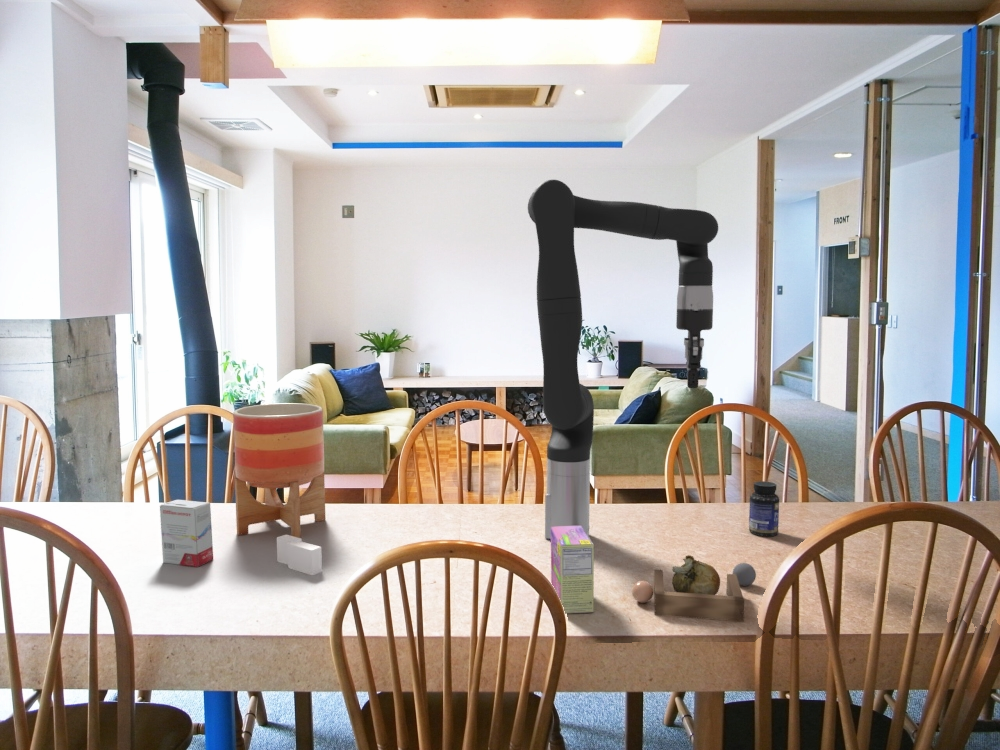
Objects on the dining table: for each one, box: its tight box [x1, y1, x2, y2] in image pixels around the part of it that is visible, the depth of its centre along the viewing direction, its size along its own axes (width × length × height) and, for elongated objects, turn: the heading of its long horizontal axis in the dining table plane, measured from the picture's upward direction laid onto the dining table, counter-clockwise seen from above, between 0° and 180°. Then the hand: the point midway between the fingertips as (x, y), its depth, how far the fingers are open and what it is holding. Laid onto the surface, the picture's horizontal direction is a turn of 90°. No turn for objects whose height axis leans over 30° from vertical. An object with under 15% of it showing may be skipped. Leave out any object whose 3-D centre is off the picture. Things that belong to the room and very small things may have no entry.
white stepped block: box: [276, 534, 323, 576], centre depth 148 cm, size 15×11×6 cm
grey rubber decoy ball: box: [732, 562, 757, 587], centre depth 138 cm, size 4×4×4 cm
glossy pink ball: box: [631, 580, 654, 604], centre depth 131 cm, size 4×4×4 cm
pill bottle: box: [748, 480, 780, 538], centre depth 167 cm, size 6×6×11 cm
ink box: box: [159, 499, 214, 568], centre depth 150 cm, size 9×5×12 cm, turn 71°
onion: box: [671, 554, 721, 595], centre depth 131 cm, size 8×8×8 cm
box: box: [550, 526, 595, 615], centre depth 130 cm, size 10×6×12 cm, turn 5°
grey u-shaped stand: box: [653, 568, 745, 622], centre depth 130 cm, size 14×12×4 cm
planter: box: [232, 402, 326, 538], centre depth 171 cm, size 20×20×27 cm
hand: (692, 387), depth 165 cm, fingers closed
